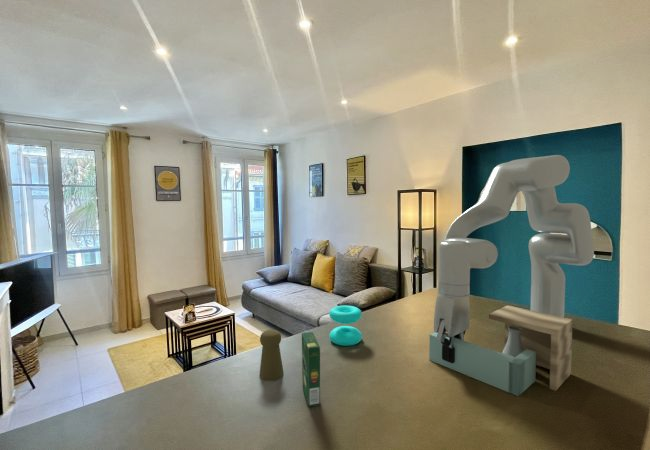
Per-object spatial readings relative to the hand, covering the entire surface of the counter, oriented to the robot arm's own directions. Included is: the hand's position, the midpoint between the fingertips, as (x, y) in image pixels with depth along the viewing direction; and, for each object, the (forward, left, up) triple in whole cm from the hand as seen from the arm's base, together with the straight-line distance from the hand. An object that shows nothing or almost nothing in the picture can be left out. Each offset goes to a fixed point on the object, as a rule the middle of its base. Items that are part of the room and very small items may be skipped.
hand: (452, 358), depth 84 cm
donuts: (+10, -30, -2) cm, 32 cm away
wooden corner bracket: (-13, +13, -2) cm, 18 cm away
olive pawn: (+38, -27, -2) cm, 47 cm away
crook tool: (-3, +5, -2) cm, 7 cm away
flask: (-13, +10, -2) cm, 16 cm away
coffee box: (+36, -13, -2) cm, 38 cm away
